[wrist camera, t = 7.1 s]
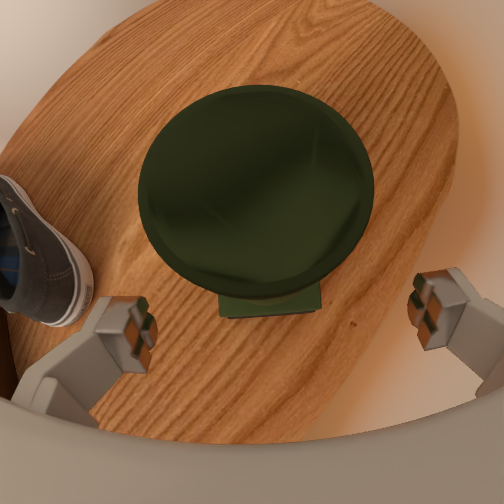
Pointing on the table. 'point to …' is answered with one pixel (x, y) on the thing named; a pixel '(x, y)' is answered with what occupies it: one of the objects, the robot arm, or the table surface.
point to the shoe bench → (6, 361)
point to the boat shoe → (39, 264)
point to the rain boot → (256, 197)
